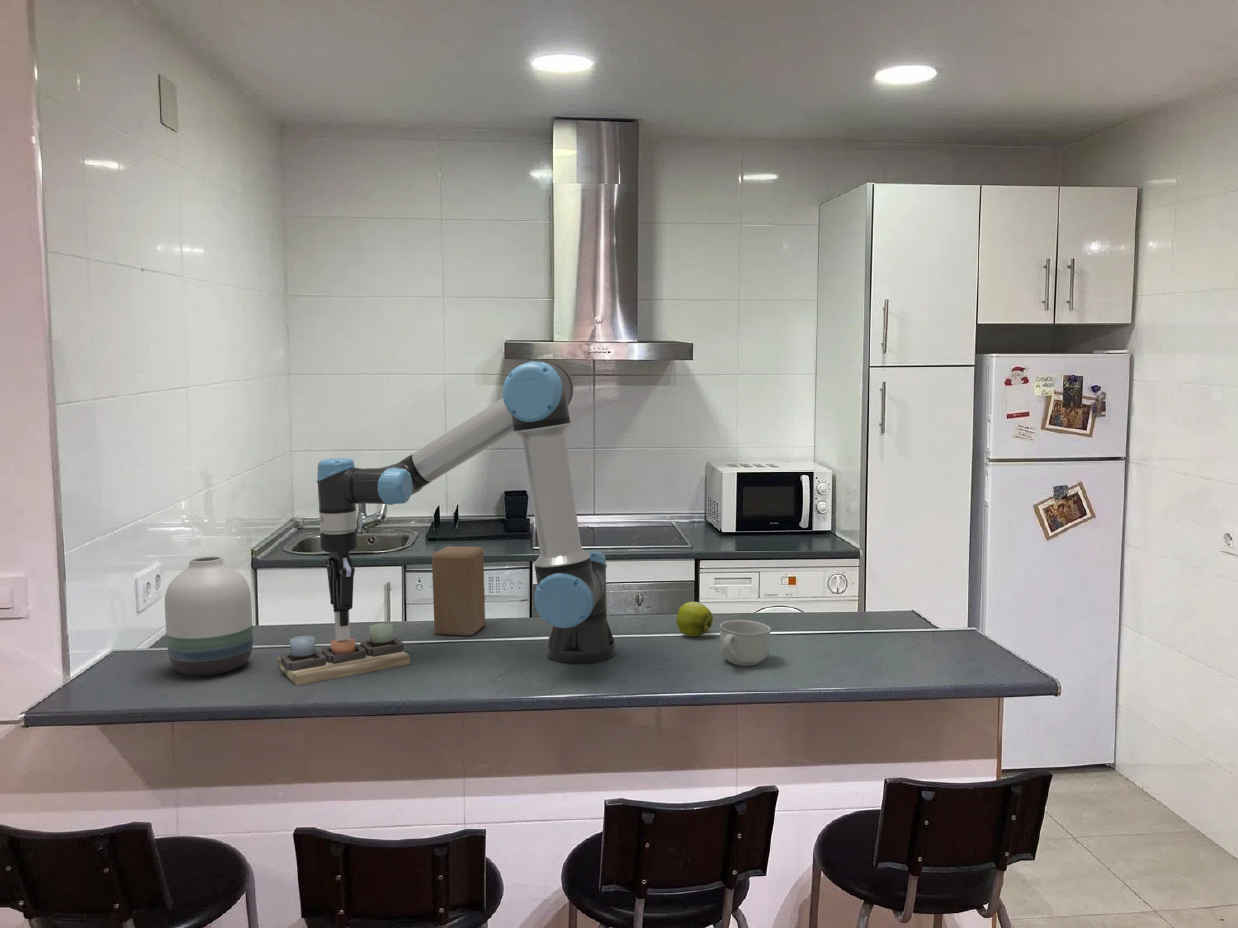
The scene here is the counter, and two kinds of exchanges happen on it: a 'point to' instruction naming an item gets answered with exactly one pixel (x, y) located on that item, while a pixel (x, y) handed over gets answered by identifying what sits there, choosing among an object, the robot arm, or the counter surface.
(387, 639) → the sage button
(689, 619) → the apple
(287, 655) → the button panel
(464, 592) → the block
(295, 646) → the slate button
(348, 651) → the terracotta button
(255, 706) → the counter surface
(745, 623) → the teacup
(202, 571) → the vase
